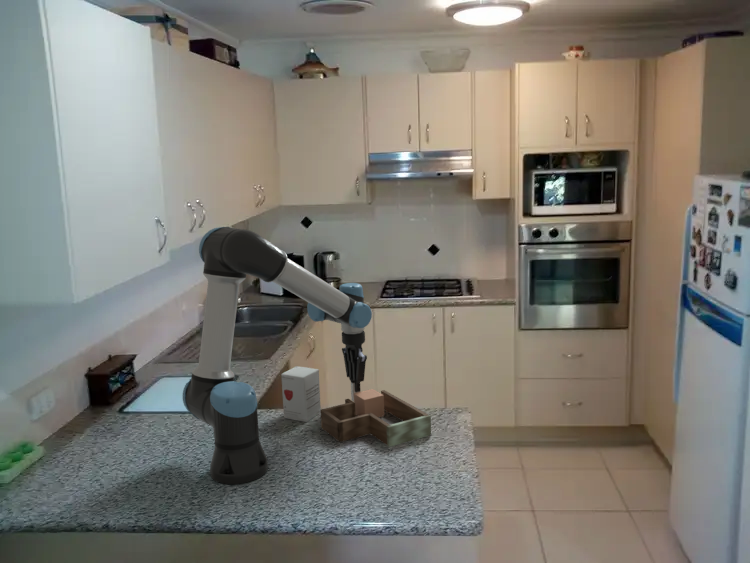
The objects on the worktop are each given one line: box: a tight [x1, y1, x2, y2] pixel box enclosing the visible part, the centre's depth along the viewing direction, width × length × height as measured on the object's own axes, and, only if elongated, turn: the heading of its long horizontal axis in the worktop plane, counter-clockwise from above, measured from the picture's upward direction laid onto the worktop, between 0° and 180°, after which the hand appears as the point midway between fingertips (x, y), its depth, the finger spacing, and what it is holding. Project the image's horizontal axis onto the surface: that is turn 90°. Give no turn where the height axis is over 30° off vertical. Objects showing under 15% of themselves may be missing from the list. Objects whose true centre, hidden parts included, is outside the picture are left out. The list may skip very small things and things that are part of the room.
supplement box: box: [280, 365, 322, 423], centre depth 217 cm, size 9×9×15 cm
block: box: [354, 388, 385, 418], centre depth 217 cm, size 7×7×7 cm
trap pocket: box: [320, 402, 371, 443], centre depth 205 cm, size 11×12×6 cm
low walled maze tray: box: [344, 389, 432, 448], centre depth 207 cm, size 14×27×6 cm, turn 30°
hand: (356, 400), depth 224 cm, fingers closed
